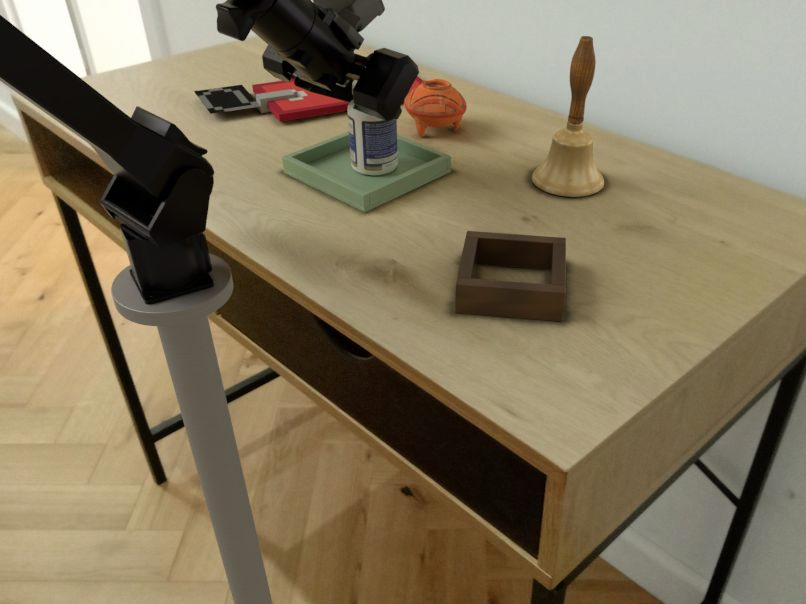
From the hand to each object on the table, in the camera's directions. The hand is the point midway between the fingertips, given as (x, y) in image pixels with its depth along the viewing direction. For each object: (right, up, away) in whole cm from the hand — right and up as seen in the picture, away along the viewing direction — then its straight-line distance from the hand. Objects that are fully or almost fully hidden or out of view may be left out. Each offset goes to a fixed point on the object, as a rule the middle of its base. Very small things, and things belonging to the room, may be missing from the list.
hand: (381, 108), depth 87 cm
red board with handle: (-11, +8, +22) cm, 26 cm away
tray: (-2, -6, +3) cm, 7 cm away
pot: (+6, +1, +13) cm, 15 cm away
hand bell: (+21, -8, +3) cm, 23 cm away
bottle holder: (+14, -21, -15) cm, 29 cm away
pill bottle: (-1, -6, +3) cm, 7 cm away
